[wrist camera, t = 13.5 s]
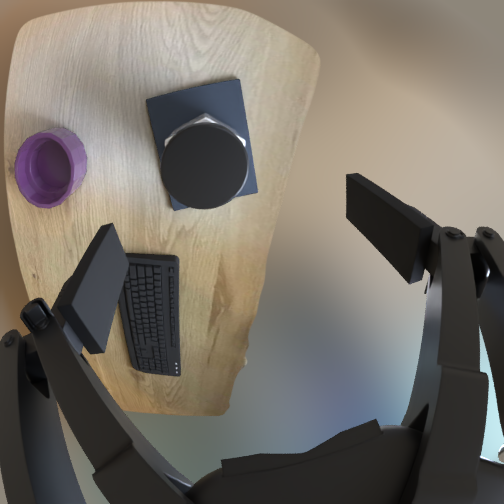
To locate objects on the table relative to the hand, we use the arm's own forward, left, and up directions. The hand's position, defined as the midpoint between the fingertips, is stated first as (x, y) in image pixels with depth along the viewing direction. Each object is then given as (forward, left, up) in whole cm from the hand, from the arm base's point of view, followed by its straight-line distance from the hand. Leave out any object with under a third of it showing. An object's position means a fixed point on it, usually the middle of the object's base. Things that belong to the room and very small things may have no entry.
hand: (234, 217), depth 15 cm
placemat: (0, -1, -24) cm, 24 cm away
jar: (0, -1, -24) cm, 24 cm away
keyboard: (+28, -18, -24) cm, 41 cm away
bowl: (-4, -22, -24) cm, 33 cm away
